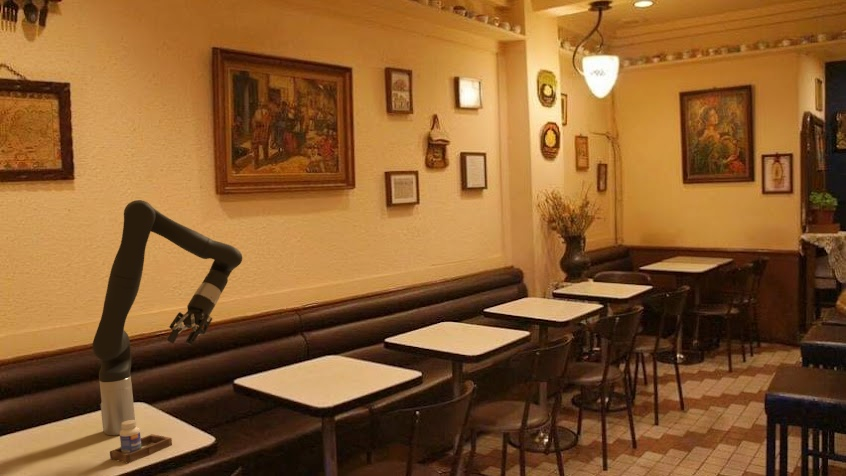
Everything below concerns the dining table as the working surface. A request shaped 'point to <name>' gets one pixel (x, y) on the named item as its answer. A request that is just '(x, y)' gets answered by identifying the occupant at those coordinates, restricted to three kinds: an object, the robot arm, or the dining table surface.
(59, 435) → the dining table surface
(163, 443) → the brown wooden rectangular frame
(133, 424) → the pill bottle
